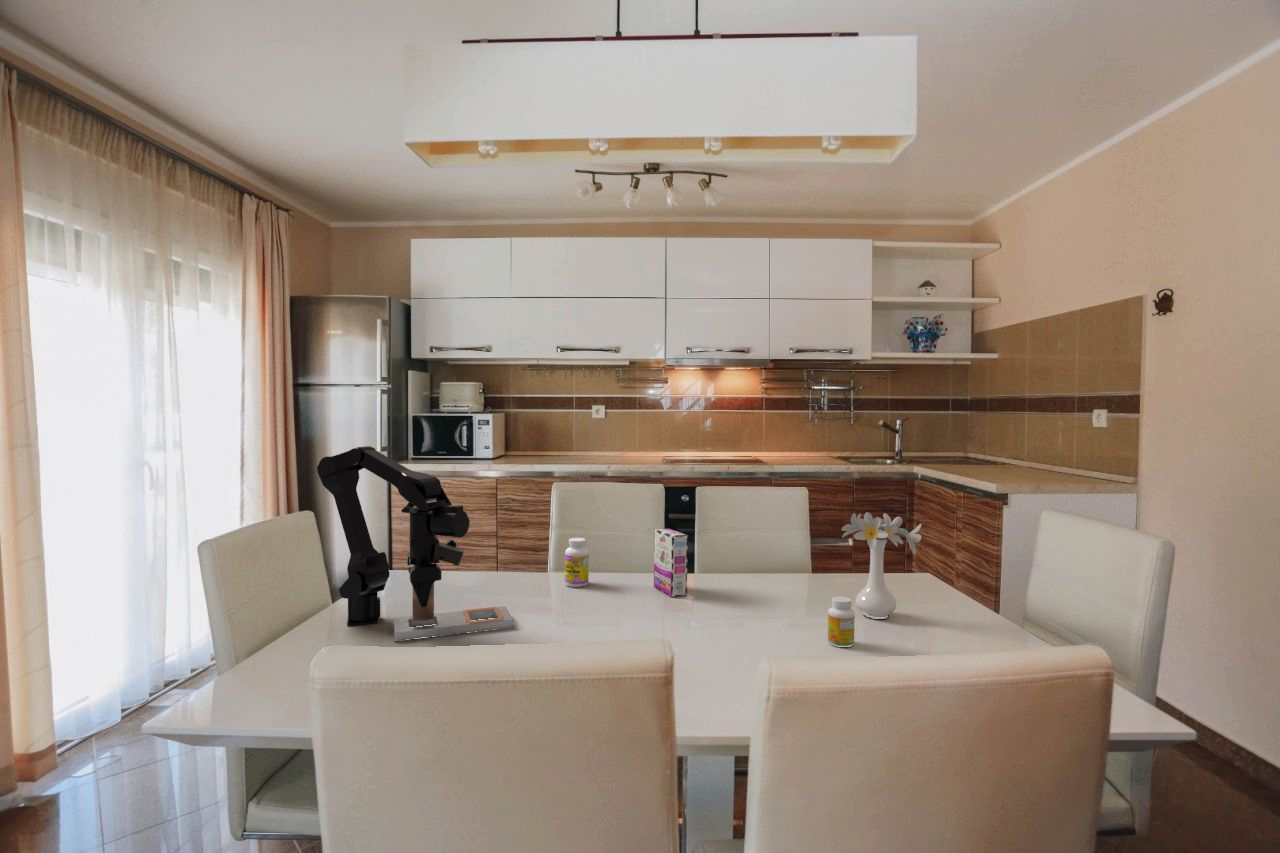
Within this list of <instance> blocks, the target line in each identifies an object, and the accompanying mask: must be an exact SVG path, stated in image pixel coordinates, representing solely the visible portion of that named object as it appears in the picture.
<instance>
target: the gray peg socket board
mask: <svg viewBox="0 0 1280 853" xmlns="http://www.w3.org/2000/svg"><path fill="white" fill-rule="evenodd" d="M488 618H494V619H488ZM478 619H485V620H478ZM471 620H476V621H471ZM432 624H436V625H432ZM424 625H432V626H424ZM416 626H423V627H416ZM409 627H414V628H409ZM502 628H509V629H514V619H513V616H512V615H511V613H510V611H508V609H507V607H506V606H505V605H504V606H498V607H497V606H489V607H479V608H473V609H472V608H470V609H463V610H458V611H457V610H456V611H450V612H438V613H434V617H433V618H432V619H429V620H424V621H417V620H414V619H413V615H412V616H411V615H410V616H403V617H402V616H399V617H394V618H393V636H394V638H395V639H394V642H395V641H400V642H402V641H401V640H406V639H414V638H421V637H432V636H440V635H449V634H458V633H467V632H475V631H484V632H486V631H485V630H492V631H494V630H493V629H500V630H503V629H502ZM475 633H476V632H475ZM467 634H468V633H467Z"/></svg>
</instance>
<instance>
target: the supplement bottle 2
mask: <svg viewBox="0 0 1280 853" xmlns="http://www.w3.org/2000/svg"><path fill="white" fill-rule="evenodd" d="M831 605H832V606H831V607H829V608H828V612H827V614H828V615H827V616H828V617H827V643H828V642H829V643H830V644H832V645H836V646H849V645H852V644H854V643H855V612H854V610H853V609H852V608H851V607H852V599H851V598H849V597H846V596H833V597H831ZM829 643H828V644H829ZM830 644H829V645H830ZM832 645H831V646H832ZM854 645H855V644H854Z"/></svg>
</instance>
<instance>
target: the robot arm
mask: <svg viewBox="0 0 1280 853" xmlns="http://www.w3.org/2000/svg"><path fill="white" fill-rule="evenodd" d="M363 469H366V471H369V472H370V473H372V474H374V475H375V476H377V477H379V478H381V479H383V480H384V481H386V482H387V483H389V484H391V485H393V486H394V487H395V488H396V489H397V491H398V493H399V495H400V496H401V497H402V498H403V499H404V500H405V501H407V504H406V505H405V506H404V507H403V508H402V509H401V510H400V512H401V513H402V514H405V513H406V514H409V537H408V539H409V540H408V543H409V552H408V553H407V554H406V564H407V566H409V567H408V568H407V571H408V574H409V583H411V586H412V589H413V588H414V591H415V593H416V595H417V598H418V600H419V602H420V605H421V607H426V606H427V603H428V599H429V594H430V590H431V586H432V584H433V583H434V584H435V582H436V581H441V580H442V569H441V567H440V566H439V565H438V564H439V563H440V561H443V562H446V563H449V564H452V565H453V566H460V563H461V560H462V558H463V555H464V553H465V552H464V549H462V548H461V547H460V546H458V547H457V541H455V540H453V539H448V540H447V541H446V542H440V539H439V537H438V536H442V537H449V538H451V537H452V538H458V539H459V538H463V537H464V536H465V535H466V534H467V532H468V531H469V528H470V522H471V521H470V519H469V515H468V513H467V512H466V511H464V505H460V504H456V505H453V504H452V502H451V501H450V499H449V497H448V495H447V494H446V492H445V490H444V489H443V487H442V484H441V480H440V479H439V478H438V477H437V476H434V475H431V474H428V473H425V472H421V471H415V470H411V469H409V468H407V467H406V466H404V465H402V464H400V463H398V462H397V461H395V460H394V459H392V458H390V457H388V456H386V455H385V454H383V453H381V452H379V451H378V450H376V448H375V447H373V446H370V445H367V446H356V447H354V448H351V449H350V450H349V449H348V451H347V450H346V451H345V452H341V453H338V454H336V455H335V454H334V455H331V456H329V455H328V456H324V457H322V458H321V459H320V460H319V462H318V465H317V467H316V470H317V474H318V477H319V479H320V481H321V484H322V485H323V487H324V488H325V489H326V490H327V491H328V492H329V493H330V494H332V496H333V497H334V502H335V506H336V509H337V511H338V515H339V516H338V517H339V519H340V522H341V525H342V526H341V527H342V529H343V532H344V536H345V540H346V542H347V543H346V544H347V547H348V550H349V553H350V557H349V561H348V563H347V568H346V569H347V575H348V577H347V579H346V580H345V581H344V582H343V584H342V585H340V587H339V589H338V591H339V595H340V598H341V599H346V600H347V622H346V625H347V626H348V627H349V626H357V625H367V624H376V623H379V619H380V618H381V597H380V596H379V597H378V592H382V591H384V590H385V588H386V584H387V582H388V579H389V578H390V570H389V569H391V566H390V564H389V562H388V558H387V554H386V553H385V551H382V552H379V551H377V549H375V547H374V546H373V542H372V538H371V536H370V533H369V529H368V525H367V522H366V518H365V515H364V511H363V509H362V505H361V501H360V499H359V495H358V492H357V486H358V483H359V481H360V471H361V470H363ZM410 566H411V567H410Z"/></svg>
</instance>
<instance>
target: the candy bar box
mask: <svg viewBox="0 0 1280 853" xmlns="http://www.w3.org/2000/svg"><path fill="white" fill-rule="evenodd" d="M688 544H689V535H688V534H685V533H683V532H680V531H677V530H674V529H671V528H659V529H658V528H657V529H654V547H653V548H654V552H653V554H654V556H653V558H654V559H653V588H654V587H656V588H658V589H659V590H658V589H657V590H658V591H660V590H661V591H663V592H664V593H663V592H662V593H663V594H665V593H666V594H665V595H667V596H668V595H669V596H668V597H670V596H671V597H670V598H676V597H675V596H680V597H682V596H681V595H686V596H687V595H688V557H689V556H688V551H689V550H688V549H689V547H688V546H689V545H688ZM656 588H655V589H656ZM661 591H660V592H661Z"/></svg>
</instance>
